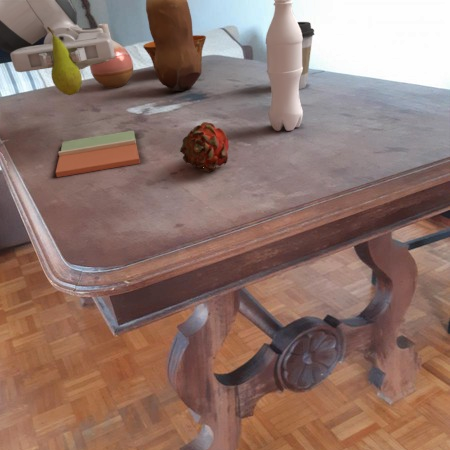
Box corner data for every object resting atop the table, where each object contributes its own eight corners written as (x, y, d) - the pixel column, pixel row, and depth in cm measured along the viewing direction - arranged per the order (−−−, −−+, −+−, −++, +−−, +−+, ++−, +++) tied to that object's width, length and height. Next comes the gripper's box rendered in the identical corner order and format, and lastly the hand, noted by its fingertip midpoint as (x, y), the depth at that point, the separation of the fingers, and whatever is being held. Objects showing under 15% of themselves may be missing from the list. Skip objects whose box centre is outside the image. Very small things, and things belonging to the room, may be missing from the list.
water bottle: (264, 132, 100) (258, -8, 85) (274, 122, 105) (269, -12, 91) (298, 133, 97) (297, -11, 83) (306, 122, 103) (306, -15, 88)
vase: (111, 80, 163) (98, 22, 152) (144, 80, 157) (133, 19, 147) (86, 90, 153) (70, 28, 143) (120, 91, 148) (106, 26, 137)
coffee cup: (314, 80, 133) (315, 19, 125) (313, 90, 124) (314, 25, 116) (274, 83, 136) (272, 23, 127) (270, 93, 127) (267, 29, 118)
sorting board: (57, 177, 90) (54, 168, 89) (63, 146, 106) (61, 138, 105) (139, 163, 92) (138, 154, 91) (134, 134, 108) (132, 126, 107)
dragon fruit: (208, 189, 82) (203, 174, 93) (244, 154, 80) (235, 143, 91) (173, 153, 79) (172, 142, 90) (209, 116, 77) (204, 109, 88)
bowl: (136, 76, 164) (130, 44, 159) (184, 63, 175) (179, 33, 169) (173, 81, 151) (168, 47, 145) (221, 67, 162) (218, 34, 156)
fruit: (78, 97, 92) (59, 27, 85) (52, 99, 94) (31, 30, 86) (91, 90, 97) (73, 23, 90) (65, 91, 98) (46, 25, 91)
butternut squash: (173, 84, 148) (159, -11, 133) (211, 84, 143) (201, -15, 128) (149, 96, 138) (131, -5, 124) (189, 96, 133) (175, -9, 118)
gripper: (11, 40, 99) (0, 49, 88) (109, 26, 101) (110, 33, 90) (21, 72, 102) (12, 85, 91) (116, 59, 105) (118, 70, 94)
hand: (61, 59), depth 91 cm, fingers closed on fruit, 4 cm apart
